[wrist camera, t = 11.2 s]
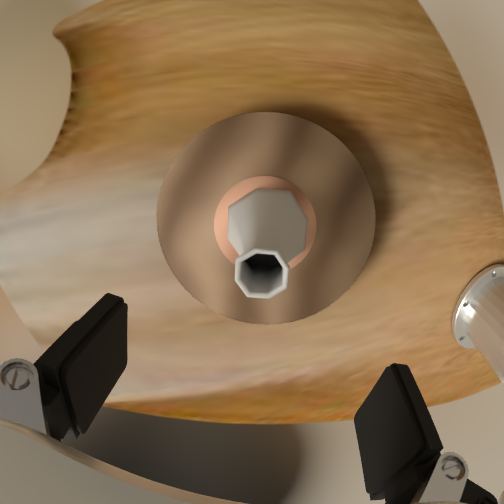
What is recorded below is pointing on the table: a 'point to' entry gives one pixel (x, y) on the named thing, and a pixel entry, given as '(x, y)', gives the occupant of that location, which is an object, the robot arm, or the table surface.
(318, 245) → the turntable
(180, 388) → the table surface
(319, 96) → the table surface
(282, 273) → the flask
